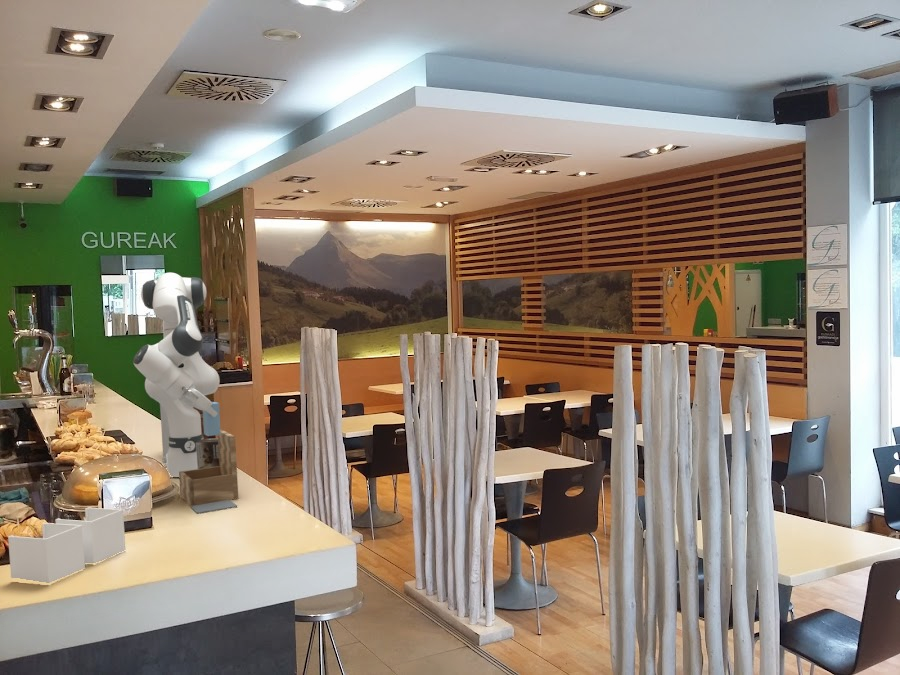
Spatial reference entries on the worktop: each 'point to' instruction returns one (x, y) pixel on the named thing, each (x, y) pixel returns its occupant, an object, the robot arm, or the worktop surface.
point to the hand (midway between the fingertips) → (213, 414)
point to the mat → (213, 506)
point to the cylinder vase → (166, 429)
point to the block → (212, 421)
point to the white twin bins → (67, 545)
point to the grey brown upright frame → (207, 453)
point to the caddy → (213, 477)
